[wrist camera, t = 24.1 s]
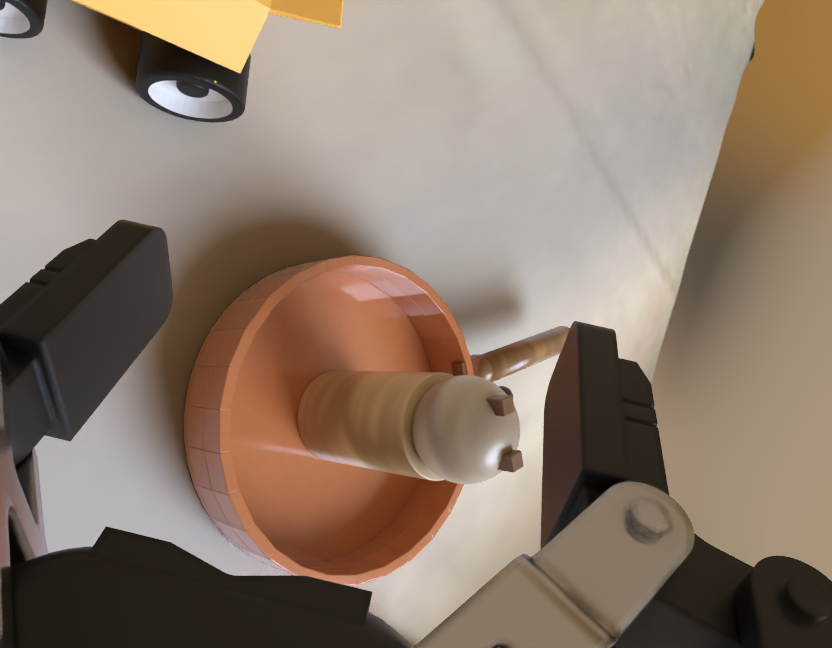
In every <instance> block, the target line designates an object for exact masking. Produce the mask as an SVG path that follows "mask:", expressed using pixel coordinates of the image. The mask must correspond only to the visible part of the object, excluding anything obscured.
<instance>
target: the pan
mask: <svg viewBox="0 0 832 648" xmlns="http://www.w3.org/2000/svg"><path fill="white" fill-rule="evenodd" d="M452 362H464V363H465V367H466V373H467V375H471V376H474V372H473V366H472V361H471V358H470V355H469V352H468V349H467V346H466V343H465V340H464V337H463V334H462V332H461V330H460V328H459V326H458V325H457V323H456V321H455V319H454V317H453V315H452V314H451V312H450V310H449V308H448V306H447V305H446V304H445V303H444V302H443V301H442V299H441V298H440V297H439V296H438V295H437V293H436V292H435V291H434V290H433V289H432V287H431V286H429V285H428V284H427V283H426V282H424V281H423V280H422V279H420V278H419V277H418V276H416V275H415V274H414V273H413V272H411V271H410V270H409V269H407V268H404V267H402V266H399V265H397V264H395V263H392V262H390V261H387V260H385V259H382V258H376V257H368V256H360V255H350V256H344V257H338V258H332V259H326V260H321V261H316V262H310V263H305V264H300V265H295V266H291V267H289V268H285V269H282V270H280V271H278V272H275V273H273V274H271V275H268V276H266V277H265V278H263V279H261V280H260V281H258V282H256V283H255V284H253V285H252V286H250V287H249V288H248V289H247V290H245V291H244V292H243V293H242V294H241V295H239V296H238V297H237V298H236V299H235V300H234V301H233V302H232V303H231V304H230V305H229V306H228V308H227V309H226V310H225V311H224V312H223V313H222V314H221V316H220V317H219V319H218V320H217V322H216V323H215V324H214V326H213V327H212V329H211V330H210V332H209V334H208V336H207V337H206V339H205V341H204V343H203V345H202V347H201V349H200V351H199V354H198V356H197V359H196V362H195V364H194V367H193V370H192V373H191V377H190V381H189V385H188V390H187V394H186V402H185V412H184V443H185V450H186V457H187V463H188V467H189V471H190V474H191V478H192V481H193V484H194V487H195V490H196V492H197V494H198V496H199V498H200V501H201V503H202V505H203V507H204V508H205V510H206V512H207V513H208V515H209V516H210V518H211V519H212V521H213V522H214V524H215V525H216V526H217V527H218V528H219V530H220V531H221V532H222V533H223V534H224V535H225V536H226V537H227V539H229V540H230V541H231V542H232V543H234V544H235V545H236V546H237V547H238V548H240V549H241V550H242V551H244V552H246V553H247V554H249V555H251V556H253V557H254V558H256V559H258V560H259V561H261V562H262V563H264V564H267V565H269V566H271V567H273V568H276V569H278V570H280V571H283V572H285V573H287V574H289V575H292V576H309V577H313V578H318V579H322V580H326V581H330V582H334V583H338V584H342V585H346V586H354V585H359V584H362V583H365V582H369V581H372V580H375V579H378V578H381V577H384V576H386V575H388V574H390V573H391V572H393V571H394V570H396V569H398V568H399V567H401V566H402V565H404V564H405V563H407V562H409V561H410V560H412V559H413V558H414V557H415V556H416V555H417V554H418V553H419V552H420V551H421V550H422V549H423V548H424V547H425V546H426V545H427V544H428V543H429V542H430V541H431V540H432V539H433V538H434V536H435V535H436V533H437V532H438V530H439V529H440V527H441V526H442V525H443V523H444V522H445V520H446V519H447V517H448V516H449V514H450V512H451V511H452V509H453V507H454V505H455V502H456V500H457V498H458V496H459V494H460V492H461V490H462V487H463V485H464V484H458V483H453V482H450V481H447V480H441V481H430V480H425V479H420V478H415V477H409V476H404V475H399V474H394V473H388V472H383V471H378V470H373V469H368V468H362V467H357V466H352V465H347V464H341V463H336V462H331V461H326V460H322V459H320V458H318V457H316V456H315V455H313V454H312V453H311V452H310V451H309V450H308V449H307V448H306V446H305V445H304V443H303V441H302V439H301V437H300V434H299V430H298V423H297V415H298V408H299V403H300V400H301V398H302V395H303V393H304V392H305V390H306V388H307V387H308V386H309V384H310V383H311V382H312V381H313V380H314V379H315V378H317V377H318V376H320V375H321V374H323V373H326V372H329V371H337V370H339V371H392V372H442V373H448V374H451V375H453V372H452V367H451V363H452Z"/></svg>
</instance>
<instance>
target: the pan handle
mask: <svg viewBox="0 0 832 648" xmlns="http://www.w3.org/2000/svg"><path fill="white" fill-rule="evenodd" d="M569 330H570V328H568V327H565V326H560V327H556V328H554V329H551V330H548V331H545V332H543V333H540V334H537V335H534V336H532V337H529V338H526V339H523V340H521V341H518V342H515V343H512V344H510V345H507V346H504V347H501V348H499V349H496V350H493V351H490V352H488V353H485V354H482V355H472V356H470V358H471V361H472V366H473V372H474V376H478V377H481V378H484V379H487V380H489V381H491V382H493V381H496V380H498V379H501V378H503V377H505V376H508V375H510V374H513V373H515V372H517V371H520V370H522V369H525V368H527V367H529V366H532V365H534V364H537V363H539V362H541V361H544V360H546V359H549V358H551V357H553V356H556V355H558V354H560V353H561V351H562V348H563V346H564V343H565V340H566V338H567V335H568V332H569ZM451 367H452V372H453V376H459V375H467V373H466V367H465V363H464V362H452V363H451Z"/></svg>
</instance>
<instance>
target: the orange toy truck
mask: <svg viewBox="0 0 832 648" xmlns="http://www.w3.org/2000/svg"><path fill="white" fill-rule="evenodd" d="M72 1H74V2H76V3H78V4H81V5H83V6H85V7H87V8H90V9H92V10H94V11H96V12H99V13H101V14H103V15H105V16H108V17H110V18H112V19H114V20H117V21H119V22H121V23H124V24H126V25H128V26H130V27H133V28H135V29H137V30H139V31H142V39H141V47H140V54H139V61H138V68H137V76H136V83H135V85H136V89H137V92H138V93H139V94H140V96H141V97H142V98H143V99H144V100H145V101H146V102H148V103H149V104H151V105H152V106H154V107H156V108H158V109H160V110H162V111H164V112H167V113H169V114H172V115H175V116H178V117H181V118H185V119H190V120H195V121H201V122H226V121H231V120H234V119H236V118H238V117H239V116H241V115H242V114H243V112H244V110H245V103H246V94H247V85H248V77H249V68H250V59H251V57H250V52H251V50H252V48H253V45H254V43H255V41H256V39H257V37H258V35H259V33H260V30H261V28H262V26H263V24H264V22H265V20H266V18H267V15H268V13H269V14H274V15H278V16H283V17H288V18H293V19H297V20H302V21H307V22H312V23H316V24H321V25H326V26H331V27H335V28H340V29H341V21H342V11H343V0H72ZM46 7H47V0H0V36H2V37H8V38H31V37H34V36H37V35H38V34H39V33H40V32H41V31H42V29H43V26H44V19H45V13H46Z"/></svg>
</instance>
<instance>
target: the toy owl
mask: <svg viewBox="0 0 832 648" xmlns="http://www.w3.org/2000/svg"><path fill="white" fill-rule="evenodd" d="M297 423H298V430H299V434H300V437H301V439H302V441H303V443H304V445H305V446H306V448H307V449H308V450H309V451H310V452H311V453H312V454H313V455H315V456H316V457H318V458H320V459H322V460H326V461H331V462H336V463H341V464H347V465H352V466H357V467H362V468H368V469H373V470H378V471H383V472H388V473H394V474H399V475H404V476H409V477H415V478H420V479H425V480H430V481H441V480H447V481H450V482H453V483H458V484H476V483H480V482H483V481H486V480H488V479H490V478H493V477H494V476H496V475H497V474H499V473H500V472H501V471H509V472H515V471H517V470H518V469H520V468H522V467H523V460H522V454H521V451H519V450H516V449H517V447H518V443H519V438H520V423H519V418H518V414H517V411H516V408H515V406H514V403H513V394H512V392H511V390H510V389H509V388H507V387H505V386H499V387H498V386H497V385H496V384H494V383H493V382H491V381H489V380H487V379H484V378H481V377H478V376H471V375H459V376H453V375H451V374H448V373H442V372H392V371H339V370H337V371H329V372H326V373H323V374H321V375H320V376H318V377H317V378H315V379H314V380H313V381H312V382H311V383H310V384H309V386H308V387H307V388H306V390H305V392H304V393H303V395H302V398H301V400H300V403H299V408H298V415H297Z"/></svg>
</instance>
